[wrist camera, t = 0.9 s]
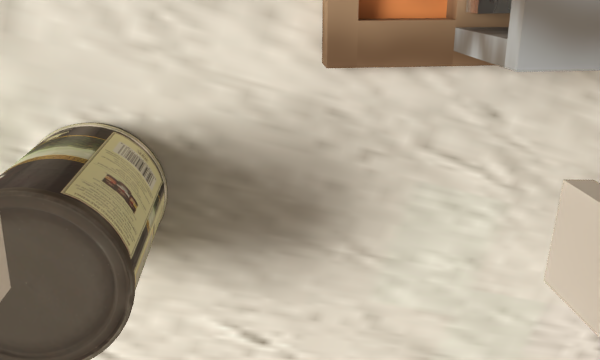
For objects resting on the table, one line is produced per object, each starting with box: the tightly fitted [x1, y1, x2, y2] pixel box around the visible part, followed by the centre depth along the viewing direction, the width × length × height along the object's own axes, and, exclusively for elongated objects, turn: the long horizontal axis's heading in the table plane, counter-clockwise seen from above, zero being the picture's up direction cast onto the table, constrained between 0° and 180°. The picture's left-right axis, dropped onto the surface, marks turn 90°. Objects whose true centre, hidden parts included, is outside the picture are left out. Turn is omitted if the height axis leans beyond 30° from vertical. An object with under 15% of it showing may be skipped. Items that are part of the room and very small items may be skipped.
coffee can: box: [0, 123, 167, 360], centre depth 35 cm, size 10×10×14 cm
